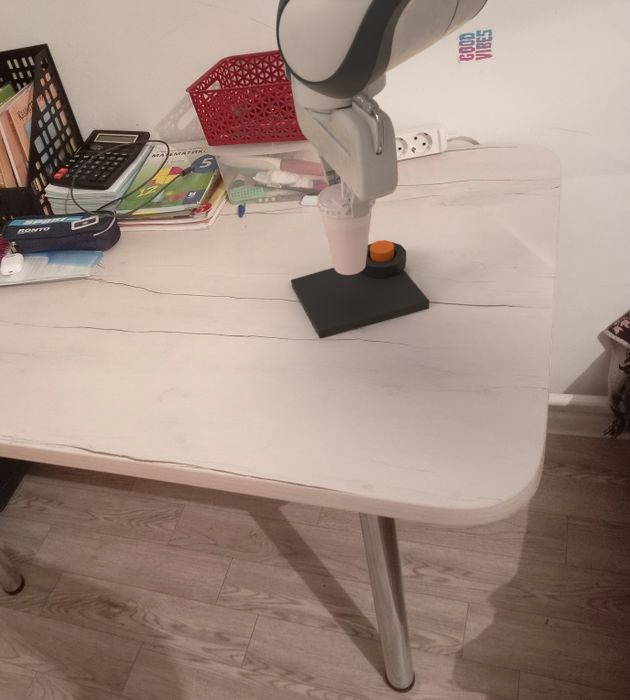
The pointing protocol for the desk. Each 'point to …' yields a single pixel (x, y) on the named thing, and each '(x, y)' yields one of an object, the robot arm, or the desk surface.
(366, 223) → the smoothie
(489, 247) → the desk surface
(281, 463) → the desk surface
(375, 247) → the button
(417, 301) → the scale
